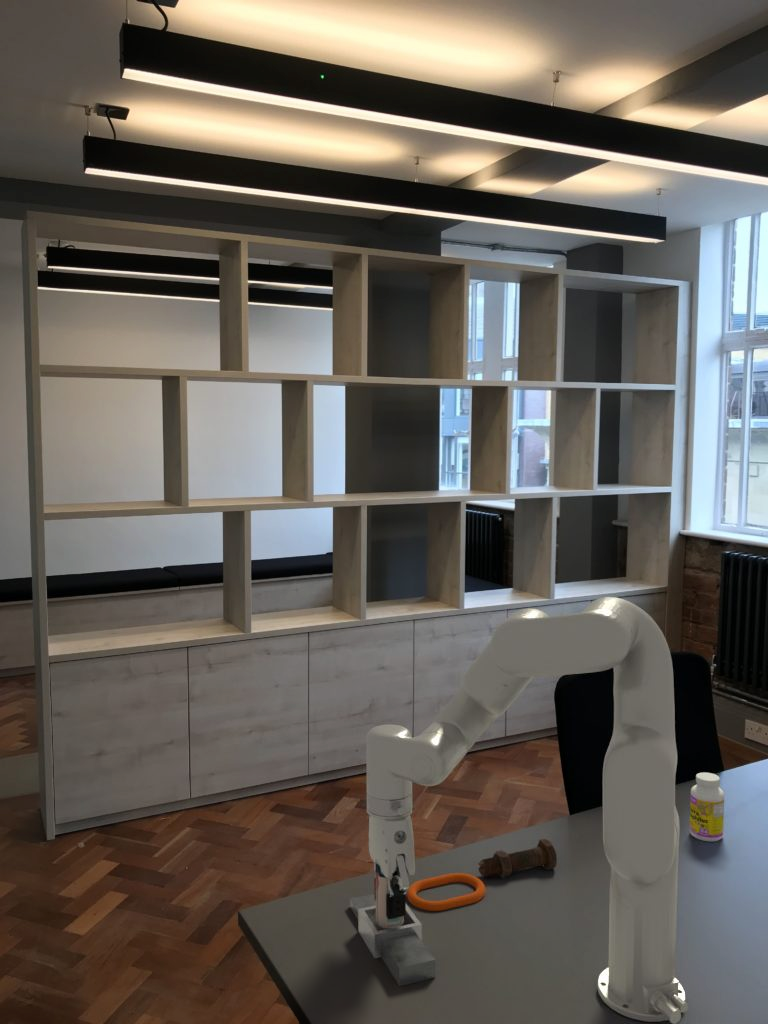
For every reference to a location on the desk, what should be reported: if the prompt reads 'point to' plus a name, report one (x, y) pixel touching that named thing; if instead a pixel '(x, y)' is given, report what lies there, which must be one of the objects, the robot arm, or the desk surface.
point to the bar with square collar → (395, 943)
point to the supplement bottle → (707, 808)
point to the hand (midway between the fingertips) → (389, 906)
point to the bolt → (519, 860)
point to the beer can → (384, 900)
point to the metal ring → (448, 902)
